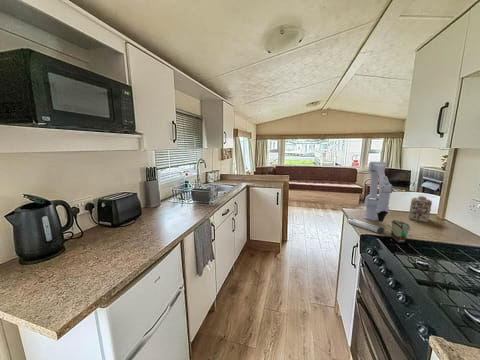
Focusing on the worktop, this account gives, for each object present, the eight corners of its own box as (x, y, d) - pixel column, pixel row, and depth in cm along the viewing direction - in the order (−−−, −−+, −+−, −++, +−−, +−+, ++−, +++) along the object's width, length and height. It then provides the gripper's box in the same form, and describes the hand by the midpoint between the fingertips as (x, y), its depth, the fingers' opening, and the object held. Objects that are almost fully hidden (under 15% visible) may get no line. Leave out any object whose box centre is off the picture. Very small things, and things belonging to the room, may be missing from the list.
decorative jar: (428, 219, 161) (432, 197, 158) (428, 223, 152) (432, 199, 149) (409, 215, 169) (412, 194, 166) (407, 218, 160) (411, 196, 157)
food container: (412, 245, 116) (415, 228, 115) (400, 243, 117) (403, 227, 116) (400, 235, 128) (403, 220, 126) (389, 234, 129) (392, 219, 128)
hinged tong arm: (348, 221, 149) (349, 218, 149) (350, 221, 150) (350, 217, 150) (382, 232, 131) (383, 228, 131) (384, 232, 132) (384, 228, 132)
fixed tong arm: (348, 222, 149) (348, 218, 149) (381, 233, 131) (382, 229, 130) (347, 222, 148) (347, 219, 148) (380, 234, 130) (381, 230, 130)
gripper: (385, 205, 129) (381, 225, 132) (395, 202, 137) (392, 221, 139) (373, 202, 135) (370, 221, 137) (383, 199, 143) (380, 218, 145)
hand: (380, 221), depth 139 cm, fingers closed
